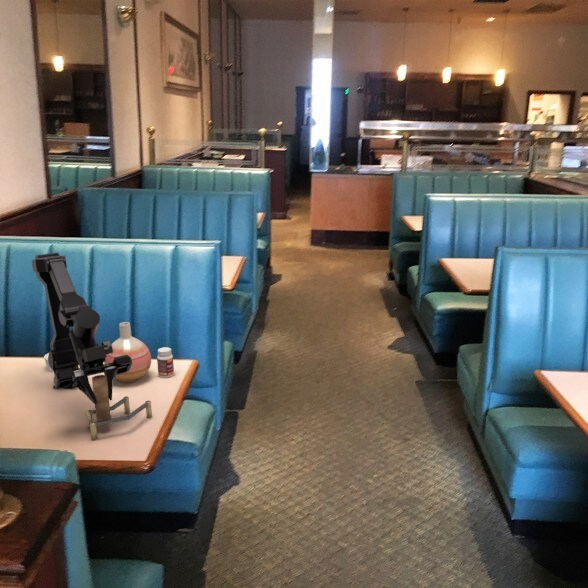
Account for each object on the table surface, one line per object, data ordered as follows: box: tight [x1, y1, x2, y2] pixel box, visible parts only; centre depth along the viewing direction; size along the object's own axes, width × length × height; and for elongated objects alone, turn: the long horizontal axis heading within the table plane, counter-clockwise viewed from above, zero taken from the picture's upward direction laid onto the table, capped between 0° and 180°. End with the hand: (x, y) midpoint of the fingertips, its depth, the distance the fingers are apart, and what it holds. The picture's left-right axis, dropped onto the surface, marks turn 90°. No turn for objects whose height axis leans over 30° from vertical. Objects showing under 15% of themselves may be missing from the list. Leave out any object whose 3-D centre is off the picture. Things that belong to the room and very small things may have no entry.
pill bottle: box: [156, 346, 175, 379], centre depth 190 cm, size 5×5×8 cm
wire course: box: [86, 395, 153, 441], centre depth 160 cm, size 15×16×4 cm
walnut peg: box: [91, 374, 112, 428], centre depth 156 cm, size 4×4×12 cm
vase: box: [103, 321, 152, 384], centre depth 186 cm, size 14×14×18 cm
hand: (103, 401), depth 155 cm, fingers closed on walnut peg, 3 cm apart
